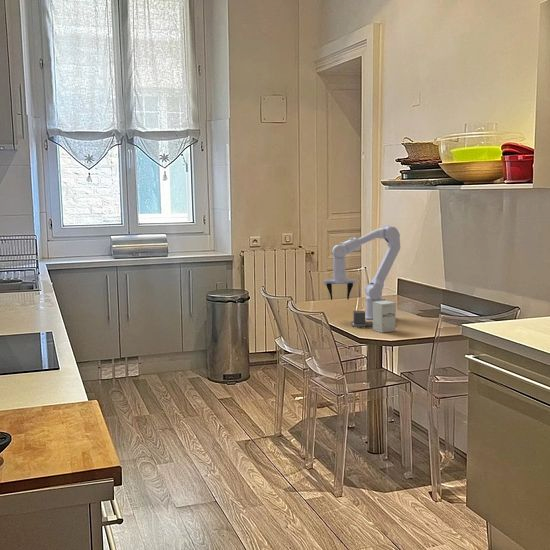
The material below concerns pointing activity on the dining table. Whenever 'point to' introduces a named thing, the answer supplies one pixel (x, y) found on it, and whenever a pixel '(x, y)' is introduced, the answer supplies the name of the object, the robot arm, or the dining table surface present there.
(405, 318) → the dining table surface
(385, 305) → the supplement box
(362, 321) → the dark grey cube
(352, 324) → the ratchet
